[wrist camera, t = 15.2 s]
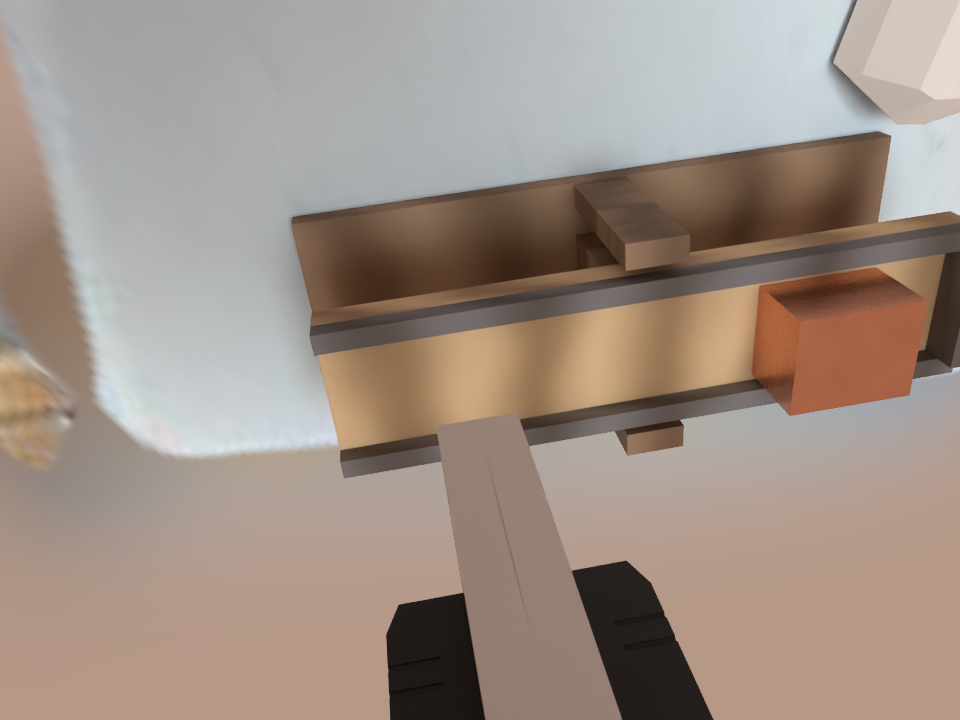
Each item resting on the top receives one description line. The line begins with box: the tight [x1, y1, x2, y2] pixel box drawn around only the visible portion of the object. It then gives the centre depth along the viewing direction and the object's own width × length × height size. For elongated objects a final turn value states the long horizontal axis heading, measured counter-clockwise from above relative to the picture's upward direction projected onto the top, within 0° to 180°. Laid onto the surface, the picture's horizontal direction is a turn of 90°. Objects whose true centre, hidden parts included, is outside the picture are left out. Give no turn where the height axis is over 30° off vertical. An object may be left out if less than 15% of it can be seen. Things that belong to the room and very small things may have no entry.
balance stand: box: [292, 132, 891, 455], centre depth 42 cm, size 34×12×10 cm, turn 96°
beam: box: [310, 211, 960, 478], centre depth 38 cm, size 32×8×4 cm, turn 96°
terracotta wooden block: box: [752, 267, 929, 416], centre depth 37 cm, size 6×5×4 cm
